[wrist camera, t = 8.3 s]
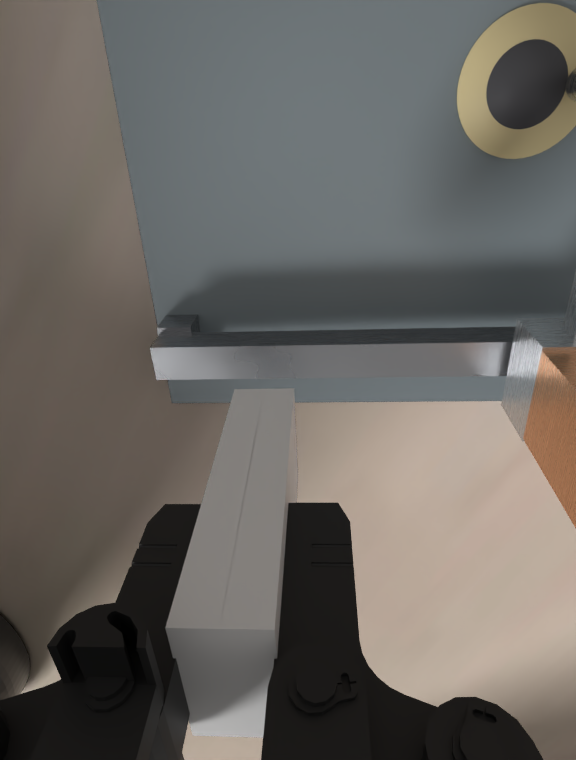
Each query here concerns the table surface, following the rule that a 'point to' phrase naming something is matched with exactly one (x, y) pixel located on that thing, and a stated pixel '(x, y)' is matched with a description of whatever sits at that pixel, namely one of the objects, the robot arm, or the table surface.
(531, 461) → the table surface
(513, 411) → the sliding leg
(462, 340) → the rail
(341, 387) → the gauge board
